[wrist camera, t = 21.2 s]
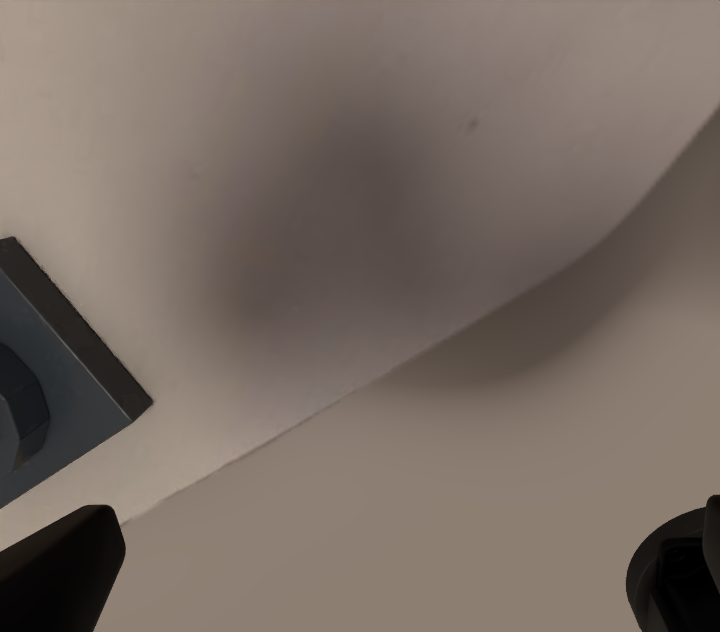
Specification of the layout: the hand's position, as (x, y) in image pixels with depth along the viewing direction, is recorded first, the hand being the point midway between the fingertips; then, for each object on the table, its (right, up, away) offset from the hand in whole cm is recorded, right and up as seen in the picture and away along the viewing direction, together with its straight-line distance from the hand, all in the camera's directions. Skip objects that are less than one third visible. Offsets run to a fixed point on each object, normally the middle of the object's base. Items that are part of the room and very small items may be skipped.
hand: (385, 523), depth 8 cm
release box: (-17, 0, +16) cm, 23 cm away
